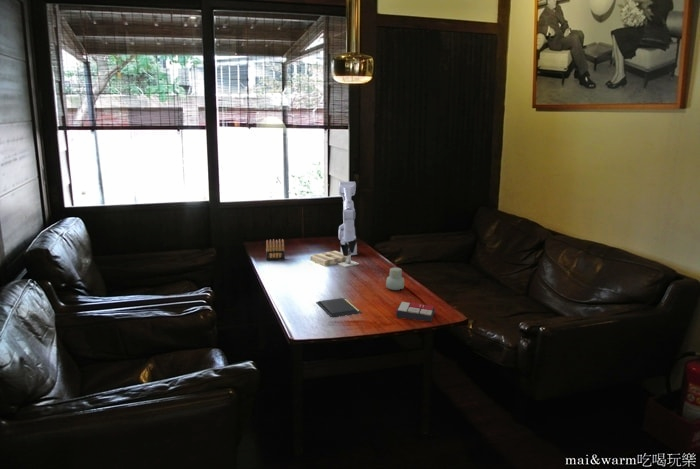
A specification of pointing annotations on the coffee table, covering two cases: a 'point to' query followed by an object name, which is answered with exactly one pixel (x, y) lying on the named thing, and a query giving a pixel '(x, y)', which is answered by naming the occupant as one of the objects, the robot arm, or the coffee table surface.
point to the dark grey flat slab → (338, 307)
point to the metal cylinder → (348, 258)
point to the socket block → (328, 258)
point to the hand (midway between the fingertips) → (348, 254)
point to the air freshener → (395, 279)
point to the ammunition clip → (275, 250)
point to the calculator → (415, 311)
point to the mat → (348, 264)
